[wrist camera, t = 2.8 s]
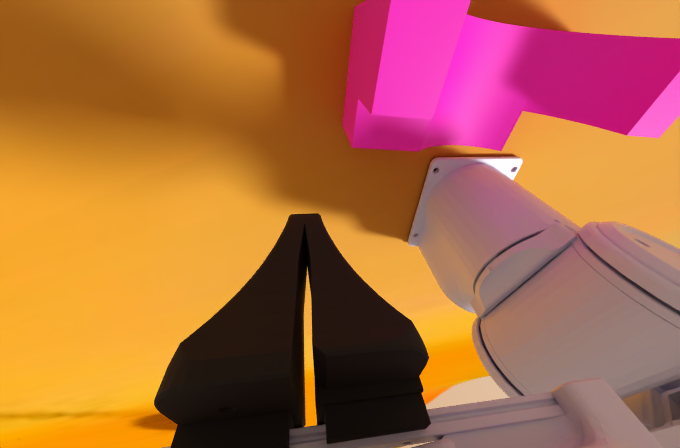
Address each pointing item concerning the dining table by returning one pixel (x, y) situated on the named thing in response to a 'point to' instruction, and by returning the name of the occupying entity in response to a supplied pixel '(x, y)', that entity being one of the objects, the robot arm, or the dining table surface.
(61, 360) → the dining table surface
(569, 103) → the toy block
